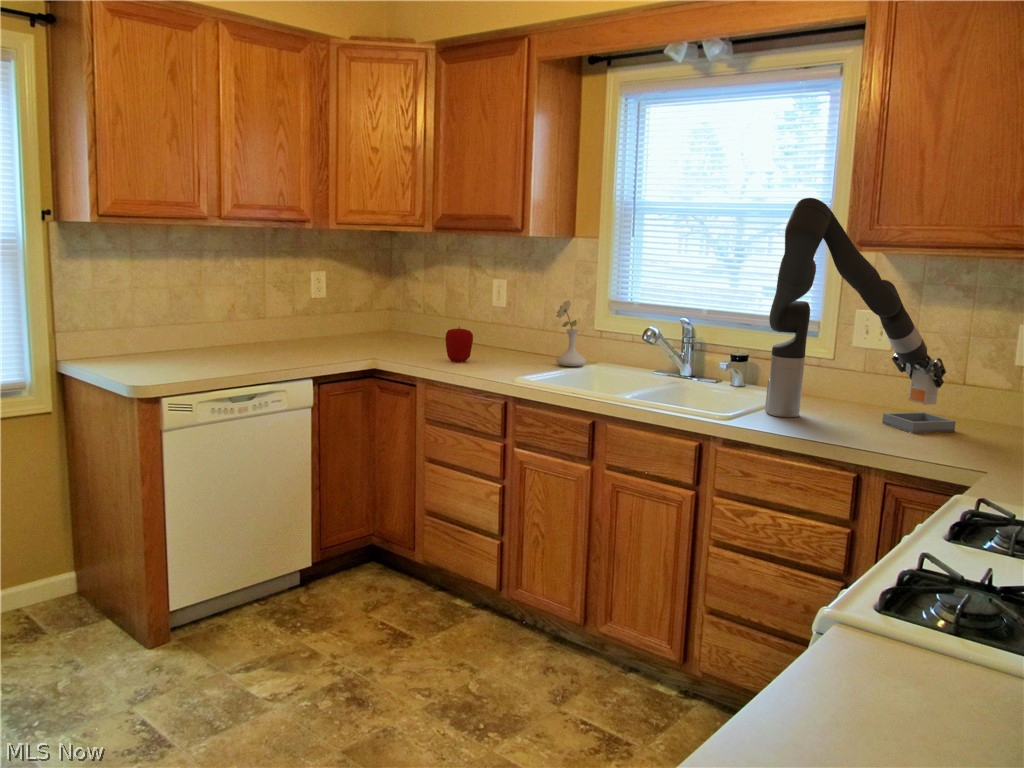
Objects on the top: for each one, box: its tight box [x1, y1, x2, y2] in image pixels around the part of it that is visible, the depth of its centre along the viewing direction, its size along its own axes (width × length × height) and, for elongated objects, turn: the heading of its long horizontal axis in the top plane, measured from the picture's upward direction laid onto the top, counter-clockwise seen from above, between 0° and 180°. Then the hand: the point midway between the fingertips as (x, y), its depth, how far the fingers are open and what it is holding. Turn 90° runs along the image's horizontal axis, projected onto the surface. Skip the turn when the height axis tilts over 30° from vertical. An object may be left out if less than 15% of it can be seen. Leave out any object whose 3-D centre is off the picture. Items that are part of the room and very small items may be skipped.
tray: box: [881, 411, 956, 434], centre depth 245 cm, size 12×14×3 cm
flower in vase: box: [555, 299, 587, 368], centre depth 330 cm, size 13×11×25 cm
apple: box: [445, 325, 474, 364], centre depth 332 cm, size 10×10×14 cm
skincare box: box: [908, 364, 939, 406], centre depth 242 cm, size 6×4×12 cm
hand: (928, 383), depth 243 cm, fingers closed on skincare box, 6 cm apart
